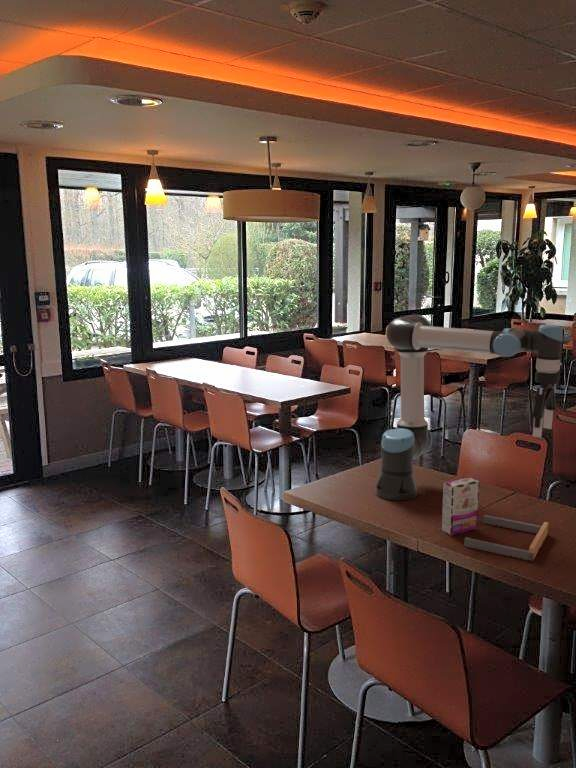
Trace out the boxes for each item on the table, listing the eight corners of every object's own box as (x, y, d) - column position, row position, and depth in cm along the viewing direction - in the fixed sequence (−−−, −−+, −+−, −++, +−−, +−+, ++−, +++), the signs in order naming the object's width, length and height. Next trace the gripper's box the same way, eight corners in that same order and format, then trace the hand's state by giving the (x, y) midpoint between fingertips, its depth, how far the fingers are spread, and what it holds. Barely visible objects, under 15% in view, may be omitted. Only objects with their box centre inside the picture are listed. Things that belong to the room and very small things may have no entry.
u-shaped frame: (464, 546, 207) (464, 533, 206) (484, 521, 226) (484, 510, 225) (532, 561, 197) (533, 548, 196) (547, 534, 216) (548, 522, 215)
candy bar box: (467, 524, 223) (469, 476, 220) (477, 529, 219) (480, 481, 216) (440, 530, 218) (442, 481, 215) (450, 536, 214) (453, 486, 211)
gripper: (549, 377, 216) (544, 442, 220) (567, 367, 236) (562, 426, 240) (525, 375, 220) (520, 438, 224) (545, 365, 240) (540, 423, 244)
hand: (542, 432), depth 232 cm, fingers open, 13 cm apart
